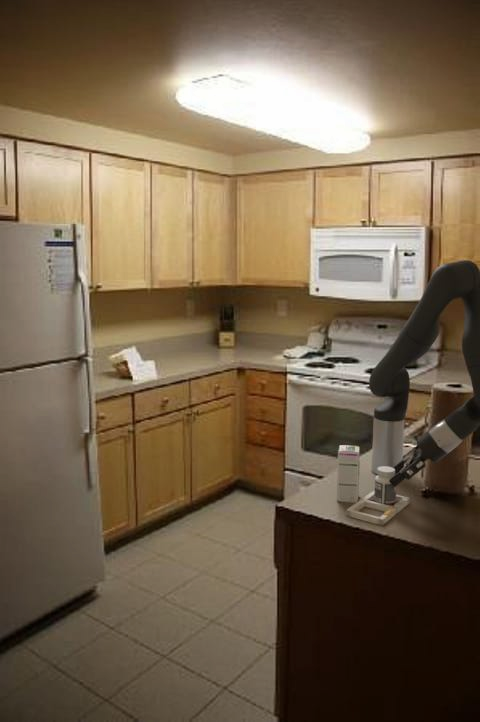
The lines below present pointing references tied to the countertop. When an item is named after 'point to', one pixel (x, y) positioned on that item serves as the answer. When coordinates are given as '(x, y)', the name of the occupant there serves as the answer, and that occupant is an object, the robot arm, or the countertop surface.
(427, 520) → the countertop surface
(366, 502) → the plate
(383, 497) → the pill bottle
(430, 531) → the countertop surface
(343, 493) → the syrup box
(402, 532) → the countertop surface
